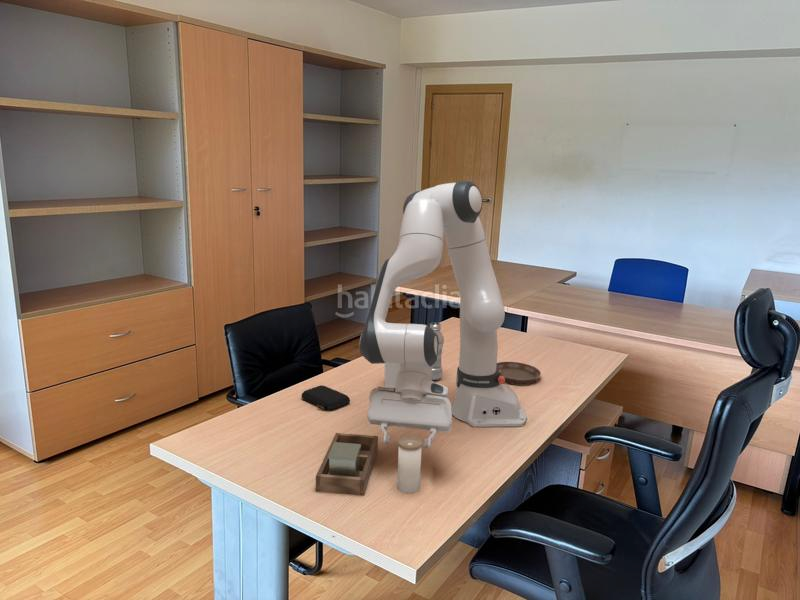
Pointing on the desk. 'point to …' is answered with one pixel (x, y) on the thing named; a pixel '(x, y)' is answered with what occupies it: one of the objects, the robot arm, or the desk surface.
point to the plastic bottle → (437, 365)
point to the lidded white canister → (409, 463)
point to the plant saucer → (518, 372)
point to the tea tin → (344, 459)
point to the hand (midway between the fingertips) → (406, 445)
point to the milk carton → (391, 374)
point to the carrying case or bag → (325, 397)
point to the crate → (345, 482)
